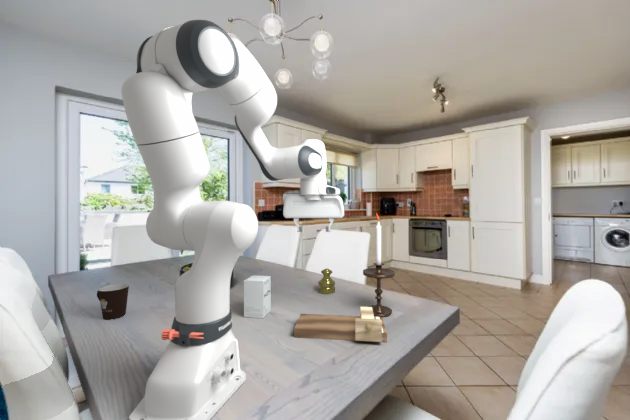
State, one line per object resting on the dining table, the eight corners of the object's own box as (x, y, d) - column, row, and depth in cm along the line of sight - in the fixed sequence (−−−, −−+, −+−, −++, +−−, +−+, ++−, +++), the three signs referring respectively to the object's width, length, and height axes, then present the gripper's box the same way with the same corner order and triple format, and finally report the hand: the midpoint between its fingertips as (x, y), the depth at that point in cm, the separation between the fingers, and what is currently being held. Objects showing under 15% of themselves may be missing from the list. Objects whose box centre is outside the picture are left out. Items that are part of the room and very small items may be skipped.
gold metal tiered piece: (335, 294, 117) (335, 270, 117) (318, 294, 117) (318, 271, 117) (334, 289, 125) (334, 266, 125) (318, 289, 125) (318, 267, 125)
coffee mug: (132, 315, 96) (132, 287, 96) (101, 323, 90) (100, 293, 89) (123, 307, 104) (123, 280, 104) (94, 314, 98) (94, 285, 97)
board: (386, 342, 76) (386, 332, 76) (294, 337, 80) (294, 328, 80) (382, 325, 87) (382, 316, 87) (300, 321, 91) (300, 313, 90)
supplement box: (263, 319, 93) (263, 281, 92) (243, 317, 94) (242, 280, 94) (271, 310, 100) (271, 275, 100) (252, 309, 101) (252, 274, 101)
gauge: (382, 343, 74) (382, 323, 74) (355, 342, 74) (355, 322, 74) (377, 325, 85) (377, 307, 85) (354, 323, 86) (354, 306, 86)
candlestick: (357, 312, 97) (356, 213, 97) (373, 304, 105) (373, 212, 105) (385, 321, 90) (384, 213, 89) (400, 311, 98) (400, 212, 97)
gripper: (280, 190, 90) (280, 232, 90) (344, 189, 87) (344, 233, 87) (284, 190, 96) (285, 230, 96) (344, 190, 93) (344, 231, 94)
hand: (313, 231), depth 92 cm, fingers open, 8 cm apart
